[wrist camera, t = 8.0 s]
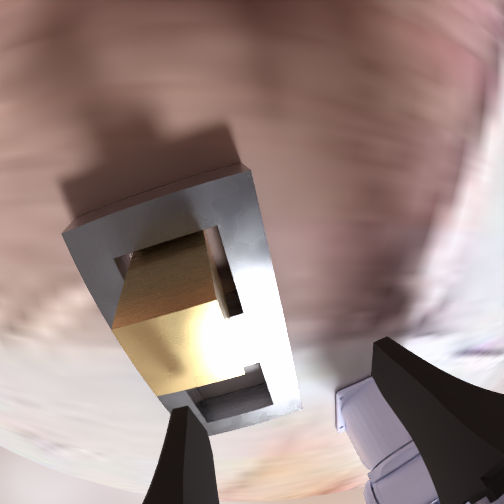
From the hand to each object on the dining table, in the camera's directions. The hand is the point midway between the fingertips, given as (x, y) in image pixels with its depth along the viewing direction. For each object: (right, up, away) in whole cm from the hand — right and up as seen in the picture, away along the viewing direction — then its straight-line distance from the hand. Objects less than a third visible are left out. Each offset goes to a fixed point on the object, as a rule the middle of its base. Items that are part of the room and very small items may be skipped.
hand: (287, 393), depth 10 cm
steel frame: (-4, 0, +10) cm, 11 cm away
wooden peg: (-6, +5, +8) cm, 10 cm away
